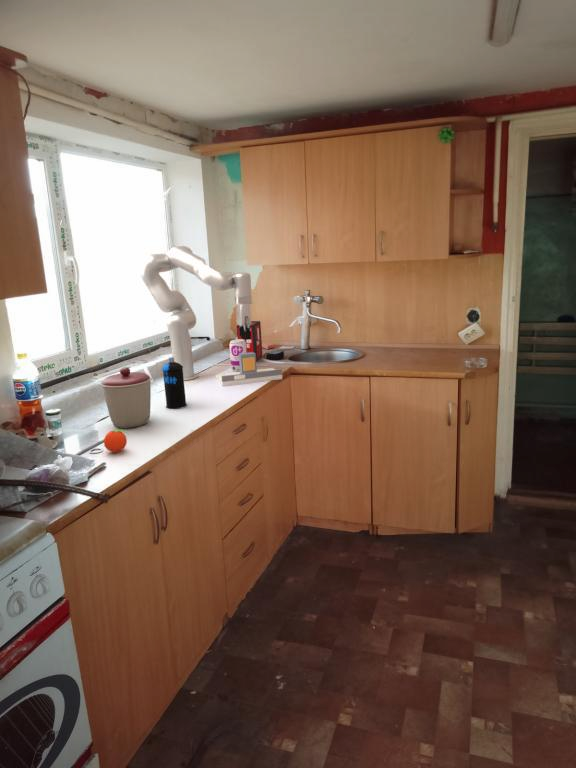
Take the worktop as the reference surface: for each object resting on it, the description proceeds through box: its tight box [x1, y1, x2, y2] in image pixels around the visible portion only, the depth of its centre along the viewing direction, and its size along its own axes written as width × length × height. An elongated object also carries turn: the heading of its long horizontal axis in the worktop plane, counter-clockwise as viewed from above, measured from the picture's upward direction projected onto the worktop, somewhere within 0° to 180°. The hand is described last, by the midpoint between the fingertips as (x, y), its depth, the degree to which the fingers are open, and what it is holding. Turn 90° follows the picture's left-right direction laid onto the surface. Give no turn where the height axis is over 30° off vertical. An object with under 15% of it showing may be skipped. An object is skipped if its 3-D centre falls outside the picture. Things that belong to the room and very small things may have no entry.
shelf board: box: [215, 367, 283, 387], centre depth 265 cm, size 28×16×4 cm, turn 107°
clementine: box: [103, 429, 128, 453], centre depth 179 cm, size 8×7×7 cm
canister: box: [99, 366, 153, 429], centre depth 205 cm, size 18×18×21 cm
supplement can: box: [228, 338, 247, 372], centre depth 284 cm, size 8×8×15 cm
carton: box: [239, 352, 258, 374], centre depth 264 cm, size 5×7×10 cm
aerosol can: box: [161, 356, 188, 410], centre depth 225 cm, size 8×8×20 cm
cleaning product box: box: [236, 320, 263, 363], centre depth 306 cm, size 16×9×20 cm, turn 170°
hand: (245, 337), depth 261 cm, fingers open, 9 cm apart
